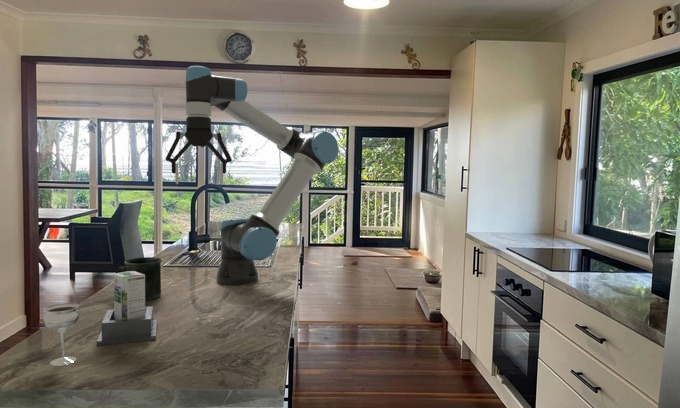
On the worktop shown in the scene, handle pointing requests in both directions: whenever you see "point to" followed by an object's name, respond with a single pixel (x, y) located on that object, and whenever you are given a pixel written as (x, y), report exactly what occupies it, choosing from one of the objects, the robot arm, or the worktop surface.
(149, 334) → the socket block
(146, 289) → the mug
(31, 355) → the worktop surface
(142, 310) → the syrup box
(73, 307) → the wineglass
